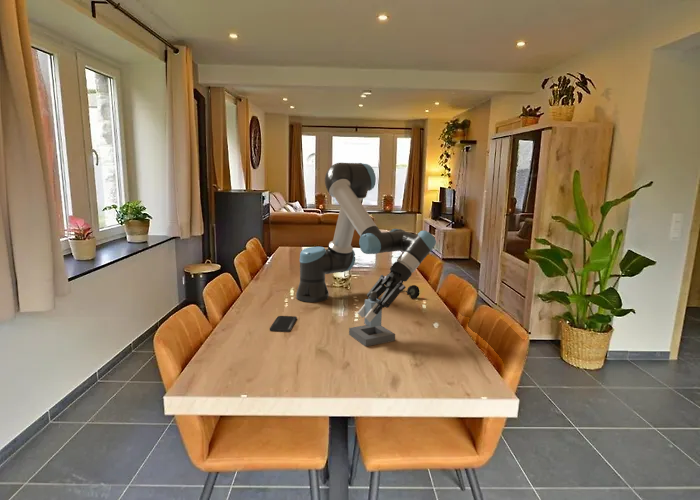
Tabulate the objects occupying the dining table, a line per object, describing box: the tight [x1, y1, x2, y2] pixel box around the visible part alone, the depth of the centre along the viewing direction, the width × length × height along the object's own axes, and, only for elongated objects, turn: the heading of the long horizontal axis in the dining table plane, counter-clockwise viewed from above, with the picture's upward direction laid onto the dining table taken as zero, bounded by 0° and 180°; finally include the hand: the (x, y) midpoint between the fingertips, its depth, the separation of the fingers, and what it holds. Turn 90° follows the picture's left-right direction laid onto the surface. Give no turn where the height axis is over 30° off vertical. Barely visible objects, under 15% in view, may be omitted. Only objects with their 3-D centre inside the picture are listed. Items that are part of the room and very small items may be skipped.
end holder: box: [348, 324, 396, 347], centre depth 152 cm, size 12×12×2 cm
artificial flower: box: [385, 284, 421, 300], centre depth 209 cm, size 9×22×10 cm, turn 29°
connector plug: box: [363, 291, 383, 327], centre depth 150 cm, size 4×4×12 cm
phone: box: [269, 315, 298, 333], centre depth 164 cm, size 8×1×15 cm
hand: (363, 317), depth 149 cm, fingers closed on connector plug, 4 cm apart
